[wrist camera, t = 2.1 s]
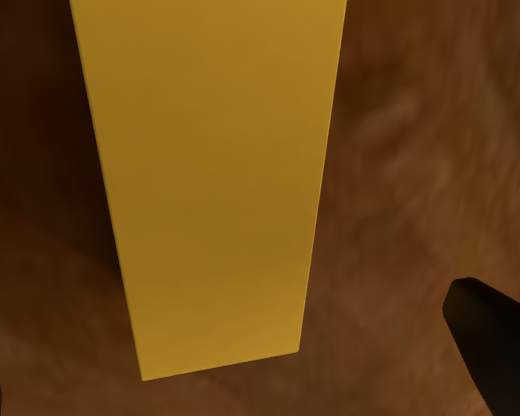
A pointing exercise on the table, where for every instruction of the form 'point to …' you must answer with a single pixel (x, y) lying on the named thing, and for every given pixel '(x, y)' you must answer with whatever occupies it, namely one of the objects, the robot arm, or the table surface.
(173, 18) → the sponge
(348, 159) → the table surface
